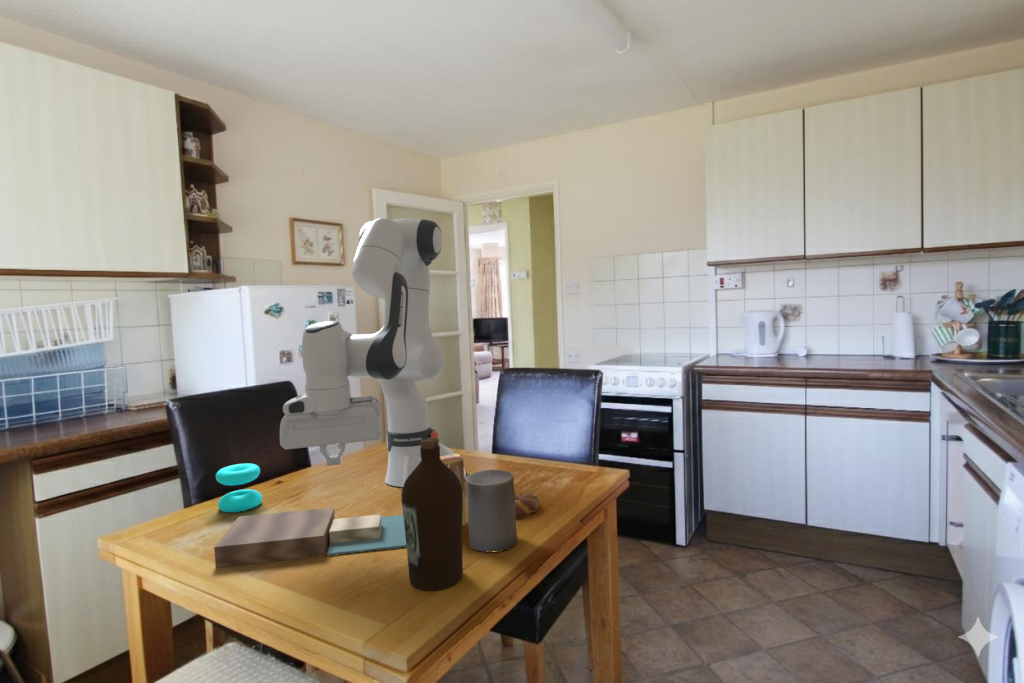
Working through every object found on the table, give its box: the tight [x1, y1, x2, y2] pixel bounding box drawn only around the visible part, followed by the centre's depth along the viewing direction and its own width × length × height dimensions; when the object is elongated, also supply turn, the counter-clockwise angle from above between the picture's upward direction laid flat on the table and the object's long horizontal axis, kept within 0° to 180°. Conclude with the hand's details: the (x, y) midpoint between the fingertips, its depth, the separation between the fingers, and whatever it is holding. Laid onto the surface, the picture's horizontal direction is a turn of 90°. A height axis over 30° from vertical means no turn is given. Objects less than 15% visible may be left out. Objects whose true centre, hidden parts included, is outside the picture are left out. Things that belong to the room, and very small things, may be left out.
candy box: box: [420, 453, 467, 527], centre depth 123 cm, size 9×4×15 cm, turn 116°
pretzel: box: [515, 492, 540, 519], centre depth 132 cm, size 12×11×4 cm
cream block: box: [329, 514, 382, 544], centre depth 120 cm, size 10×7×2 cm
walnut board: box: [213, 506, 336, 568], centre depth 118 cm, size 20×16×4 cm
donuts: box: [215, 462, 263, 513], centre depth 141 cm, size 10×10×10 cm
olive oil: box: [401, 437, 464, 591], centre depth 100 cm, size 11×11×25 cm
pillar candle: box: [464, 469, 518, 553], centre depth 114 cm, size 10×10×15 cm
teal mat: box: [326, 514, 407, 557], centre depth 121 cm, size 16×17×1 cm
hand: (334, 464), depth 119 cm, fingers closed
